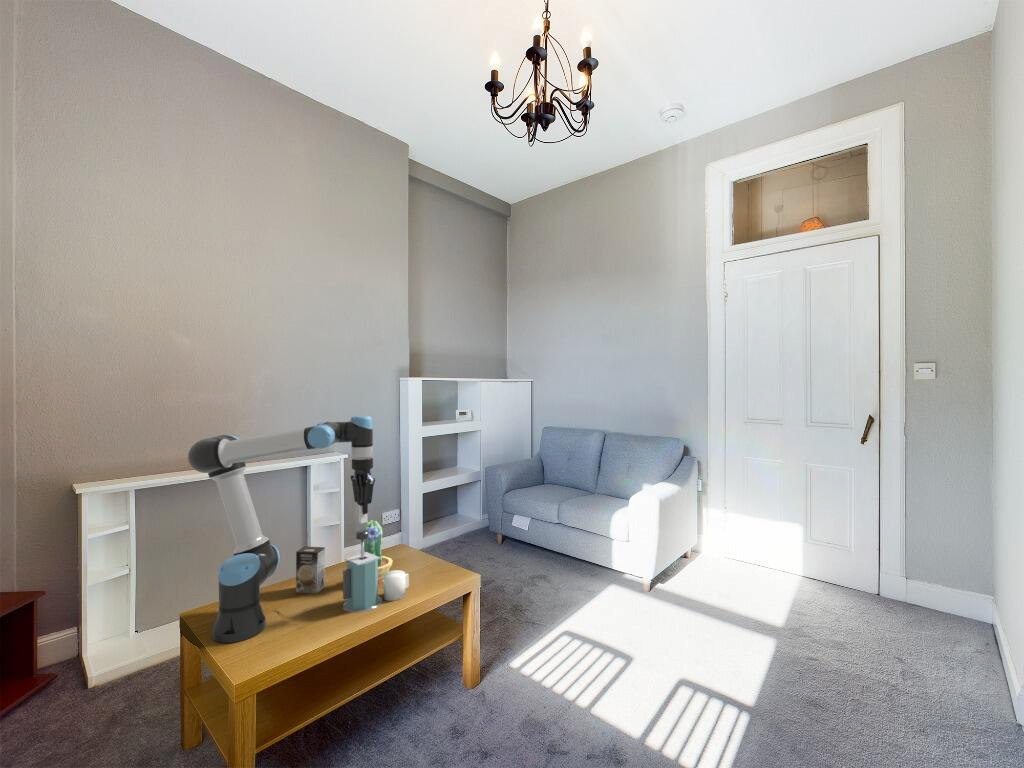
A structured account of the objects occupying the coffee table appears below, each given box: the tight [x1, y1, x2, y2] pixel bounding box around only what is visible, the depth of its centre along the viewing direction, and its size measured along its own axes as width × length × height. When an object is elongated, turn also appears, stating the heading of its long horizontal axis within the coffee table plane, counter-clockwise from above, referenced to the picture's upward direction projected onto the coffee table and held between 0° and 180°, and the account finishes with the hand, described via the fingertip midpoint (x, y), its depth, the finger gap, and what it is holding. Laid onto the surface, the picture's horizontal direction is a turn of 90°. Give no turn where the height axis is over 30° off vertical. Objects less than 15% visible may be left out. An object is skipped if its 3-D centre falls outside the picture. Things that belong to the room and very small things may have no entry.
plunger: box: [355, 529, 369, 560], centre depth 171 cm, size 8×8×16 cm
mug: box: [383, 569, 410, 602], centre depth 177 cm, size 10×8×9 cm
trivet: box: [342, 595, 384, 613], centre depth 171 cm, size 14×14×1 cm
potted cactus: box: [361, 519, 393, 584], centre depth 191 cm, size 15×15×25 cm
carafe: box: [342, 551, 380, 610], centre depth 170 cm, size 12×10×16 cm
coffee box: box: [295, 545, 326, 594], centre depth 185 cm, size 9×6×16 cm
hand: (363, 522), depth 171 cm, fingers closed
